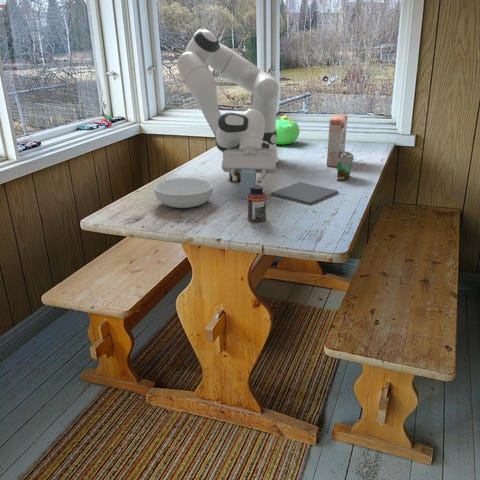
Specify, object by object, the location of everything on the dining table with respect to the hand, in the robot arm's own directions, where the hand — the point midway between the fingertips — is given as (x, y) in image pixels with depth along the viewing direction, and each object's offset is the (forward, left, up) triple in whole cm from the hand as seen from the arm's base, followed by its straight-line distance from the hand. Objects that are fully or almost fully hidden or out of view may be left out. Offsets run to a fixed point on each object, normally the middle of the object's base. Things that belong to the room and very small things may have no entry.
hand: (247, 181), depth 186 cm
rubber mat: (+14, +17, -6) cm, 23 cm away
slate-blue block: (0, +1, -6) cm, 6 cm away
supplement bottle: (+18, -15, -6) cm, 24 cm away
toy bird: (-46, +79, -6) cm, 91 cm away
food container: (+14, +45, -6) cm, 47 cm away
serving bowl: (-12, -20, -6) cm, 24 cm away
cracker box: (-2, +63, -6) cm, 63 cm away
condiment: (-18, +14, -6) cm, 23 cm away
